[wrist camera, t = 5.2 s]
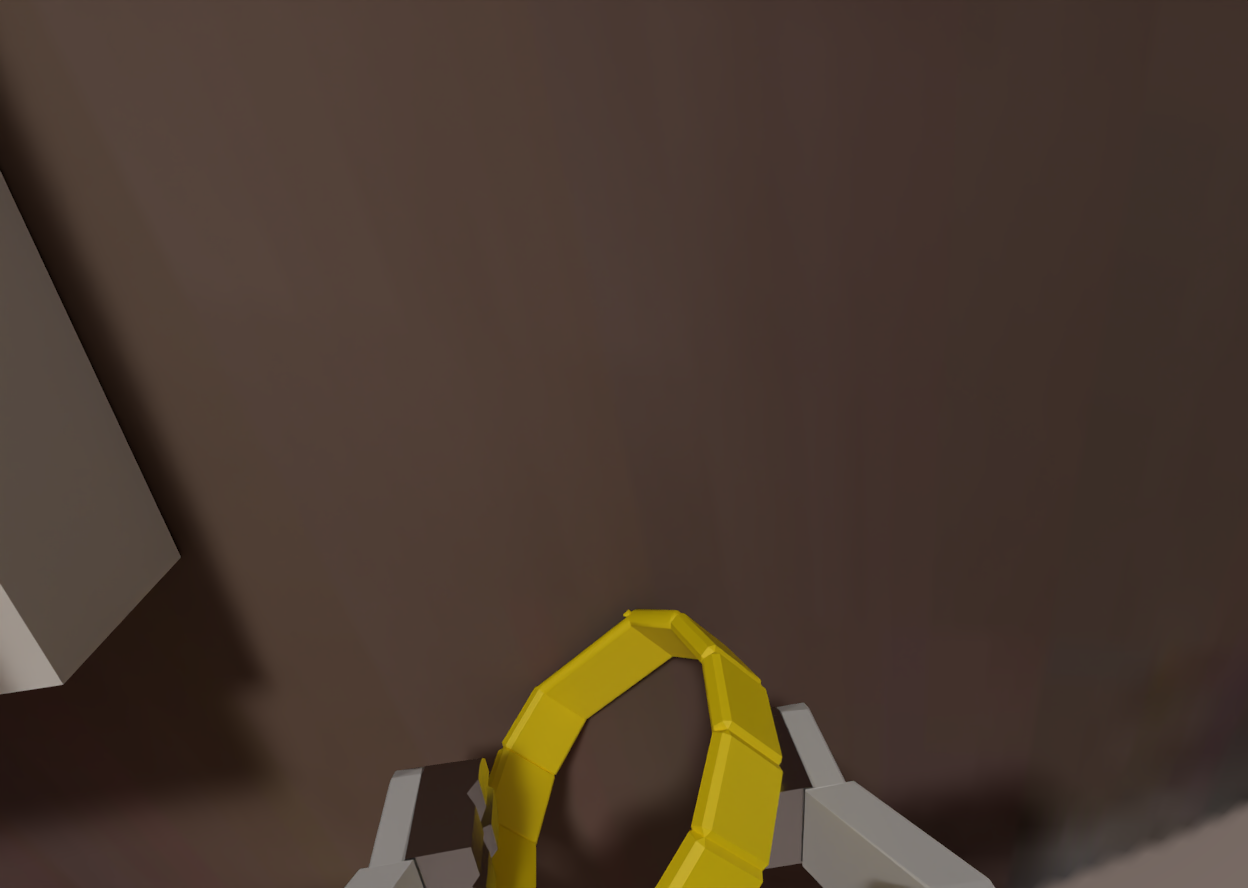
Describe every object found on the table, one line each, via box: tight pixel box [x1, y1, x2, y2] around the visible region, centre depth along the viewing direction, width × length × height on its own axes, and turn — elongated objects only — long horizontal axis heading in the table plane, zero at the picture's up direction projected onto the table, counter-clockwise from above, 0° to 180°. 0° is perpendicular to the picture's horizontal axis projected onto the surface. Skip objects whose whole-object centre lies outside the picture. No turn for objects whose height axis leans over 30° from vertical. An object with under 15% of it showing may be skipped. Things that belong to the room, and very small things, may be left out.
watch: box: [488, 609, 783, 888], centre depth 11 cm, size 6×3×6 cm, turn 134°
